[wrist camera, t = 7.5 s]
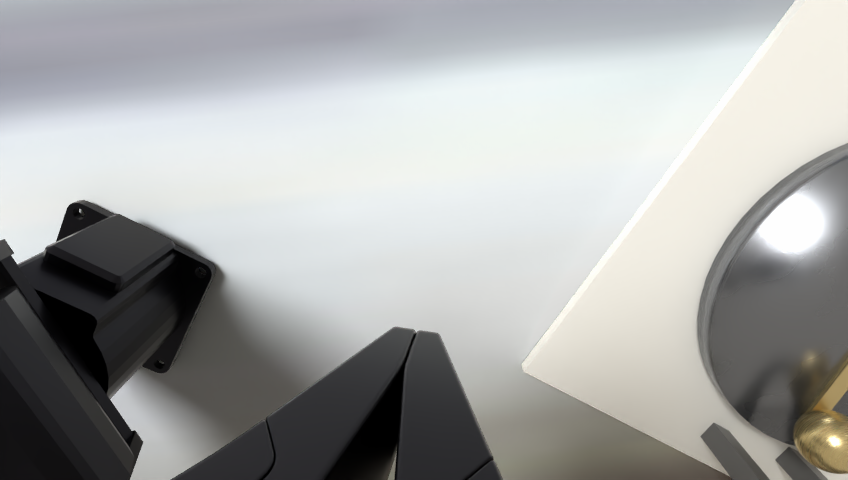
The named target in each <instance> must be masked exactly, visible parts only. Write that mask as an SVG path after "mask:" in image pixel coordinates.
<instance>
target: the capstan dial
mask: <svg viewBox="0 0 848 480" xmlns="http://www.w3.org/2000/svg"><path fill="white" fill-rule="evenodd" d="M697 336H698V342H699V348H700V354H701V357H702V360H703V363H704V366H705V369H706V371H707V373H708V374H709V376H710V378H711V380H712V382H713V384H714V385H715V386H716V388H717V389H718V390H719V391H720V393H721V394H722V395H723V396H724V398H725V399H726V400H727V401H728V402H729V403H730V404H731V405H732V406H733V408H734V409H735V410H736V411H737V412H738V413H739V414H740V415H741V416H742V417H743V418H744V419H745V420H747V421H748V422H749V423H750V424H751V425H752V426H754V427H755V428H757V429H758V430H760V431H761V432H763V433H764V434H766V435H768V436H770V437H772V438H774V439H776V440H779V441H781V442H783V443H786V444H789V445H793V446H796V448H797V450H798V451H799V453H800V454H801V455H802V456H803V457H804V458H805V459H806V460H807V461H808V462H809V463H810V464H812V465H813V466H815V467H817V468H819V469H821V470H823V471H826V472H829V473H834V474H848V143H846V144H844V145H842V146H839V147H837V148H835V149H832V150H830V151H828V152H826V153H824V154H822V155H820V156H818V157H817V158H815V159H813V160H811V161H809V162H808V163H806V164H804V165H802V166H801V167H799V168H798V169H796V170H795V171H794V172H792V173H791V174H789V175H788V176H786V177H785V178H784V179H782V180H781V181H779V182H778V183H777V184H776V185H775V186H774V187H773V188H771V189H770V190H769V191H768V192H767V193H766V194H764V195H763V196H762V197H761V198H760V199H759V200H758V201H757V202H756V203H755V204H754V205H753V206H752V207H751V208H750V209H749V210H748V212H747V213H746V214H745V215H744V216H743V217H742V218H741V219H740V221H739V222H738V223H737V225H736V226H735V227H734V229H733V230H732V231H731V233H730V234H729V235H728V237H727V238H726V240H725V242H724V243H723V245H722V247H721V248H720V250H719V252H718V253H717V255H716V257H715V259H714V261H713V263H712V266H711V268H710V270H709V272H708V275H707V277H706V280H705V283H704V287H703V290H702V294H701V297H700V303H699V310H698V317H697Z"/></svg>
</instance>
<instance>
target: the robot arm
mask: <svg viewBox="0 0 848 480" xmlns="http://www.w3.org/2000/svg"><path fill="white" fill-rule="evenodd" d="M79 209H81V210H83V211H84V213H85V217H84V216H82V215H81V214H80V212H79ZM12 254H14V252H13V251H12V249H11V248H10V247H9V245H8V244H7V242H6V241H5V239H3V240H0V480H130V477H131V475H132V472H133V469H134V466H135V464H136V461H137V458H138V455H139V452H140V450H141V447H142V444H143V441H142V440H141V438H140V437H139V435H138V434H137V432H136V431H135V430H134V431H131V429H130V428H129V427H128V425H127V424H126V422H125V421H124V419H123V418H122V416H121V415H120V413H119V412H118V411H117V409H116V408H115V406H114V405H113V403H112V402H111V400H110V399H111V398H112V397H113V395H114V394H115V393H116V392H117V391H118V390H119V389H120V388H121V387H122V386H123V385H124V384H125V383H126V382H127V381H128V380H129V379H130V378H131V377H132V376H133V374H134V373H135V372H136V371H137V370H138V369H139V368H140V367H141V366H143V367H145V368H148V369H150V370H152V371H154V372H157V373H165V372H167V371H168V370H169V369H170V367H171V366H172V365H173V364H174V361H175V359H176V357H177V355H178V353H179V351H180V348H181V346H182V344H183V342H184V340H185V338H186V336H187V333H188V331H189V329H190V327H191V325H192V323H193V320H194V318H195V316H196V314H197V312H198V310H199V308H200V305H201V303H202V301H203V299H204V297H205V295H206V292H207V290H208V288H209V286H210V284H211V282H212V280H213V277H214V275H215V271H216V270H215V266H214V265H213V264H212V263H211V262H210V261H208V260H206V259H204V258H202V257H200V256H198V255H196V254H194V253H192V252H190V251H188V250H186V249H184V248H182V247H180V246H178V245H176V244H174V243H173V241H172V240H171V239H169V238H167V237H165V236H163V235H161V234H159V233H157V232H155V231H153V230H151V229H149V228H147V227H145V226H143V225H140V224H138V223H136V222H134V221H132V220H130V219H128V218H126V217H124V216H122V215H120V214H116V215H115V214H113V213H111V212H109V211H107V210H105V209H102V208H100V207H98V206H96V205H94V204H92V203H90V202H88V201H85V200H79V201H77V202H74V203H72V204H70V205H69V206H68V208H67V210H66V213H65V216H64V219H63V222H62V225H61V228H60V231H59V234H58V237H57V240H56V242H55V243H53V244H51V245H49V246H47V247H46V248H45V251H44V252H42V253H40V254H38V255H35V256H33V257H31V258H29V259H27V260H25V261H23V262H21V263H19V264H16V262H15V261H14V259H13V258H12V256H11V255H12ZM199 268H203V269H204V270H205V271H206V275H205V274H202V273H201V272H200V271H199ZM159 360H161V361H163V362H164V364H162V363H160V362H159ZM396 451H397V455H396ZM395 455H396V468H395V480H503V478H502V476H501V474H500V471H499V469H498V467H497V465H496V463H495V461H493V456H492V454H491V451H490V449H489V447H488V445H487V442H486V440H485V438H484V435H483V433H482V431H481V428H480V426H479V424H478V422H477V419H476V417H475V415H474V412H473V410H472V408H471V405H470V403H469V401H468V399H467V396H466V394H465V392H464V389H463V387H462V385H461V382H460V380H459V378H458V376H457V373H456V371H455V369H454V366H453V364H452V362H451V360H450V357H449V355H448V353H447V350H446V348H445V346H444V343H443V341H442V339H441V337H440V335H439V334H438V333H435V332H428V331H417V333H416V332H415V330H413V329H408V328H401V327H393V328H392V329H390V330H389V331H387V332H386V333H385V334H383V335H382V336H380V337H379V338H378V339H376V340H375V341H373V342H372V343H370V344H369V345H368V346H366V347H365V348H363V349H362V350H361V351H359V352H358V353H356V354H355V355H354V356H352V357H351V358H349V359H348V360H347V361H345V362H344V363H342V364H341V365H340V366H338V367H337V368H335V369H334V370H333V371H331V372H330V373H328V374H327V375H325V376H324V377H323V378H321V379H320V380H318V381H317V382H316V383H314V384H313V385H311V386H310V387H309V388H307V389H306V390H304V391H303V392H302V393H300V394H299V395H297V396H296V397H295V398H293V399H292V400H290V401H289V402H288V403H286V404H285V405H283V406H282V407H280V408H279V409H278V410H276V411H275V412H273V413H272V414H271V415H269V416H268V417H267V418H266V421H265V420H262V421H260V422H259V423H258V424H256V425H255V426H253V427H252V428H251V429H249V430H248V431H246V432H245V433H244V434H242V435H241V436H239V437H238V438H236V439H235V440H233V441H232V442H230V443H229V444H227V445H226V446H224V447H223V448H221V449H220V450H218V451H217V452H215V453H214V454H212V455H210V456H209V457H207V458H206V459H204V460H202V461H201V462H199V463H197V464H196V465H194V466H192V467H191V468H189V469H187V470H186V471H184V472H183V473H181V474H179V475H178V476H176V477H174V478H172V479H171V480H387V479H388V476H389V473H390V470H391V467H392V464H393V461H394V458H395Z"/></svg>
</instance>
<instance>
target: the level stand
mask: <svg viewBox="0 0 848 480" xmlns="http://www.w3.org/2000/svg"><path fill="white" fill-rule="evenodd" d="M846 143H848V0H795V1H794V3H793V4H792V5H791V7H790V8H789V9H788V11H787V12H786V13H785V15H784V16H783V17H782V19H781V20H780V21H779V23H778V24H777V25H776V27H775V28H774V29H773V31H772V32H771V33H770V35H769V36H768V37H767V39H766V40H765V41H764V43H763V44H762V45H761V47H760V48H759V49H758V51H757V52H756V53H755V55H754V56H753V57H752V59H751V60H750V61H749V63H748V64H747V65H746V67H745V68H744V69H743V71H742V72H741V73H740V75H739V76H738V77H737V79H736V80H735V81H734V83H733V84H732V85H731V87H730V88H729V89H728V91H727V92H726V93H725V95H724V96H723V97H722V99H721V100H720V101H719V103H718V104H717V105H716V107H715V108H714V109H713V111H712V112H711V113H710V115H709V116H708V117H707V118H706V120H705V121H704V122H703V124H702V125H701V126H700V128H699V129H698V130H697V132H696V133H695V134H694V136H693V137H692V138H691V140H690V141H689V142H688V144H687V145H686V146H685V148H684V149H683V150H682V152H681V153H680V154H679V156H678V157H677V158H676V160H675V161H674V162H673V164H672V165H671V166H670V168H669V169H668V170H667V172H666V173H665V174H664V176H663V177H662V178H661V180H660V181H659V182H658V184H657V185H656V186H655V188H654V189H653V190H652V192H651V193H650V194H649V196H648V197H647V198H646V200H645V201H644V202H643V204H642V205H641V206H640V208H639V209H638V210H637V212H636V213H635V214H634V216H633V217H632V218H631V220H630V221H629V222H628V224H627V225H626V226H625V228H624V229H623V230H622V232H621V233H620V234H619V236H618V237H617V238H616V239H615V241H614V242H613V243H612V245H611V246H610V247H609V249H608V250H607V251H606V253H605V254H604V255H603V257H602V258H601V259H600V261H599V262H598V263H597V265H596V266H595V267H594V269H593V270H592V271H591V273H590V274H589V275H588V277H587V278H586V279H585V281H584V282H583V283H582V285H581V286H580V287H579V289H578V290H577V291H576V293H575V294H574V295H573V297H572V298H571V299H570V301H569V302H568V303H567V305H566V306H565V307H564V309H563V310H562V311H561V313H560V314H559V315H558V317H557V318H556V319H555V321H554V322H553V323H552V325H551V326H550V327H549V329H548V330H547V331H546V333H545V334H544V335H543V337H542V338H541V339H540V341H539V342H538V343H537V345H536V346H535V347H534V349H533V350H532V351H531V353H530V354H529V355H528V357H527V358H526V359H525V360H524V362H523V363H522V364H521V365H522V368H523V371H524V372H525V373H527V374H529V375H531V376H533V377H535V378H537V379H539V380H541V381H543V382H545V383H547V384H548V385H550V386H552V387H554V388H556V389H558V390H560V391H562V392H564V393H566V394H568V395H570V396H572V397H574V398H576V399H578V400H580V401H582V402H584V403H586V404H588V405H590V406H592V407H594V408H596V409H598V410H600V411H602V412H604V413H606V414H608V415H609V416H611V417H613V418H615V419H617V420H619V421H621V422H623V423H625V424H627V425H629V426H631V427H633V428H635V429H637V430H639V431H641V432H643V433H645V434H647V435H649V436H651V437H653V438H655V439H657V440H659V441H661V442H663V443H665V444H667V445H668V446H670V447H672V448H674V449H676V450H678V451H680V452H682V453H684V454H686V455H688V456H690V457H692V458H694V459H696V460H698V461H700V462H702V463H704V464H706V465H708V466H710V467H712V468H714V469H716V470H718V471H720V472H722V473H724V474H726V475H728V476H729V477H731V478H732V480H848V474H834V473H829V472H826V471H823V470H821V469H819V468H817V467H815V466H813V465H812V464H810V463H809V462H808V461H807V460H806V459H805V458H804V457H803V456H802V455H801V454H800V453H799V451H798V450H797V448H796V446H793V445H789V444H786V443H783V442H781V441H779V440H776V439H774V438H772V437H770V436H768V435H766V434H764V433H763V432H761V431H760V430H758V429H757V428H755V427H754V426H752V425H751V424H750V423H749V422H748V421H747V420H745V419H744V418H743V417H742V416H741V415H740V414H739V413H738V412H737V411H736V410H735V409H734V408H733V406H732V405H731V404H730V403H729V402H728V401H727V400H726V399H725V398H724V396H723V395H722V394H721V393H720V391H719V390H718V389H717V388H716V386H715V385H714V384H713V382H712V380H711V378H710V376H709V374H708V373H707V371H706V369H705V366H704V363H703V360H702V357H701V354H700V348H699V342H698V336H697V317H698V310H699V303H700V297H701V294H702V290H703V287H704V283H705V280H706V277H707V275H708V272H709V270H710V268H711V266H712V263H713V261H714V259H715V257H716V255H717V253H718V252H719V250H720V248H721V247H722V245H723V243H724V242H725V240H726V238H727V237H728V235H729V234H730V233H731V231H732V230H733V229H734V227H735V226H736V225H737V223H738V222H739V221H740V219H741V218H742V217H743V216H744V215H745V214H746V213H747V212H748V210H749V209H750V208H751V207H752V206H753V205H754V204H755V203H756V202H757V201H758V200H759V199H760V198H761V197H762V196H763V195H764V194H766V193H767V192H768V191H769V190H770V189H771V188H773V187H774V186H775V185H776V184H777V183H778V182H779V181H781V180H782V179H784V178H785V177H786V176H788V175H789V174H791V173H792V172H794V171H795V170H796V169H798V168H799V167H801V166H802V165H804V164H806V163H808V162H809V161H811V160H813V159H815V158H817V157H818V156H820V155H822V154H824V153H826V152H828V151H830V150H832V149H835V148H837V147H839V146H842V145H844V144H846Z"/></svg>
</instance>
